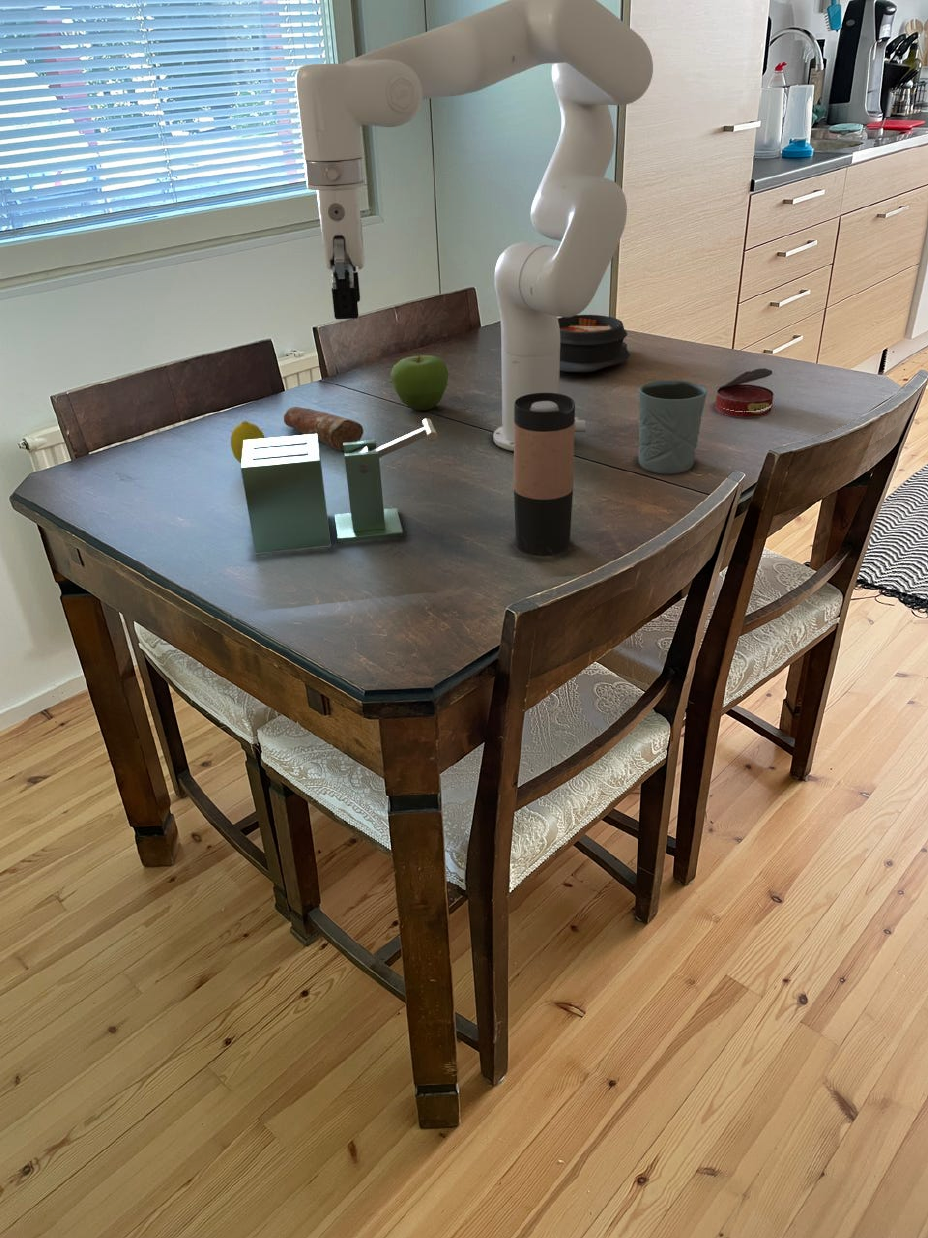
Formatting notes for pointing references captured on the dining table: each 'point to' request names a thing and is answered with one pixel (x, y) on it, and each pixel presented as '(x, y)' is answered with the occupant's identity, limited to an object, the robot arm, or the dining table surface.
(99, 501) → the dining table surface
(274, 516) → the toaster
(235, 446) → the lemon
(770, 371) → the canned food
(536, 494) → the travel mug
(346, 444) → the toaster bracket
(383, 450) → the lever
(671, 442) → the green embossed cup
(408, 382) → the apple
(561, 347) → the casserole
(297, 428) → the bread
